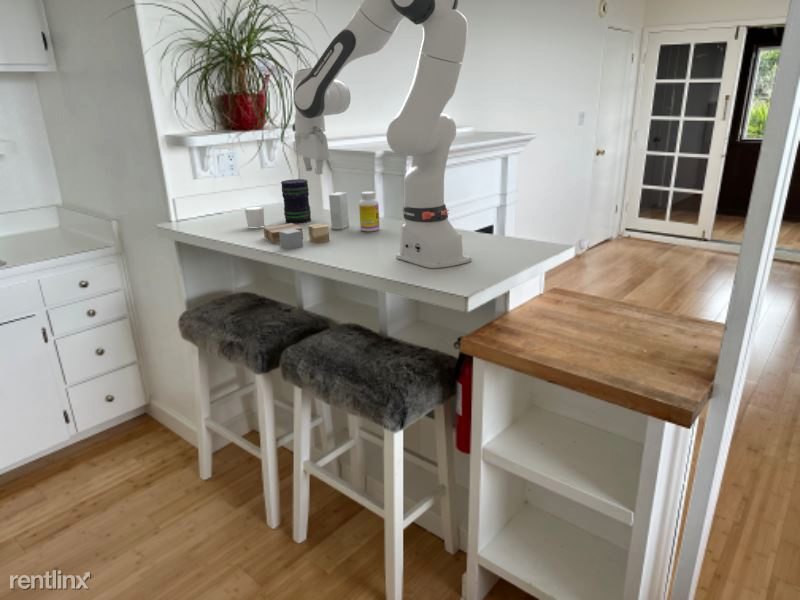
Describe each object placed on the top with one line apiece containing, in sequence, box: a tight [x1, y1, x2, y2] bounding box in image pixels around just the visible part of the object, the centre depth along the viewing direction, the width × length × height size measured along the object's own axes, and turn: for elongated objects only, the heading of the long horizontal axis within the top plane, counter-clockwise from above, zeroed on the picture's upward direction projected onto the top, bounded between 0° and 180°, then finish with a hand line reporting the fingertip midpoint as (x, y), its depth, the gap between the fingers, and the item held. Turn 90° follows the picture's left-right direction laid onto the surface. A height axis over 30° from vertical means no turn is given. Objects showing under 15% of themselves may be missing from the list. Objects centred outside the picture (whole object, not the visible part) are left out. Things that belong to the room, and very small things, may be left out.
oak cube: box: [308, 222, 330, 244], centre depth 182 cm, size 5×5×5 cm
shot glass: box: [243, 206, 265, 228], centre depth 205 cm, size 7×7×7 cm
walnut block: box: [262, 223, 304, 245], centre depth 187 cm, size 10×10×4 cm
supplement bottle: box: [358, 190, 381, 232], centre depth 193 cm, size 7×7×13 cm
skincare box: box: [328, 191, 350, 230], centre depth 198 cm, size 6×4×12 cm
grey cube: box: [279, 229, 304, 250], centre depth 176 cm, size 5×5×5 cm
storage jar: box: [280, 178, 312, 225], centre depth 211 cm, size 10×10×15 cm
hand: (313, 172), depth 176 cm, fingers open, 8 cm apart
